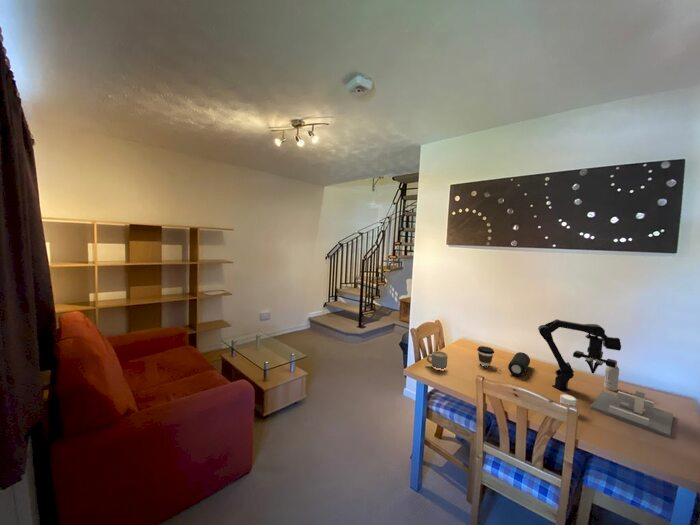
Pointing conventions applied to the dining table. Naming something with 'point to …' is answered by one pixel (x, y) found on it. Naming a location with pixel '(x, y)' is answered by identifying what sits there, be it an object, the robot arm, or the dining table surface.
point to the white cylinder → (568, 399)
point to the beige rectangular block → (639, 402)
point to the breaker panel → (624, 411)
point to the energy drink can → (611, 378)
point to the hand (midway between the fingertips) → (592, 373)
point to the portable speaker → (519, 364)
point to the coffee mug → (438, 359)
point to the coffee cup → (485, 355)
